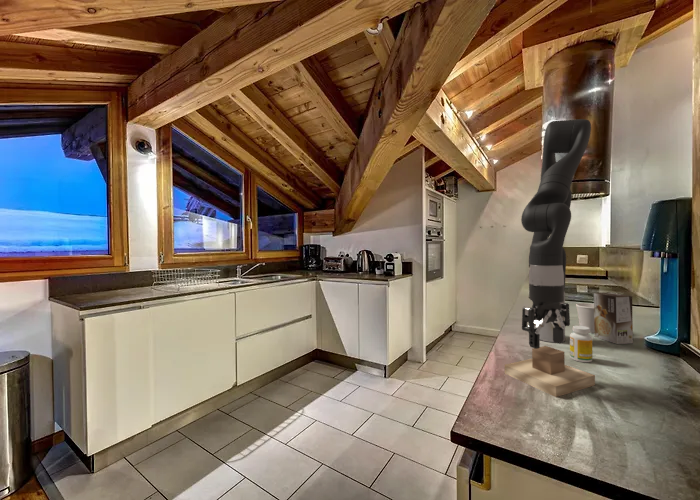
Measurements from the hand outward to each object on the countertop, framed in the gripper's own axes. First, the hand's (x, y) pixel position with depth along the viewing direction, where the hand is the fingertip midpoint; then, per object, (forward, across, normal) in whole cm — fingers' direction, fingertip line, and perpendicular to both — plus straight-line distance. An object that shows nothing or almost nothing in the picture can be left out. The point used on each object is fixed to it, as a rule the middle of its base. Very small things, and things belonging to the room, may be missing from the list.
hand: (546, 345), depth 80 cm
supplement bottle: (+9, -21, -5) cm, 23 cm away
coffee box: (+9, -49, -12) cm, 51 cm away
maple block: (+9, 0, 0) cm, 9 cm away
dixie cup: (+9, -53, -22) cm, 58 cm away
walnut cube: (+6, 0, 0) cm, 6 cm away
